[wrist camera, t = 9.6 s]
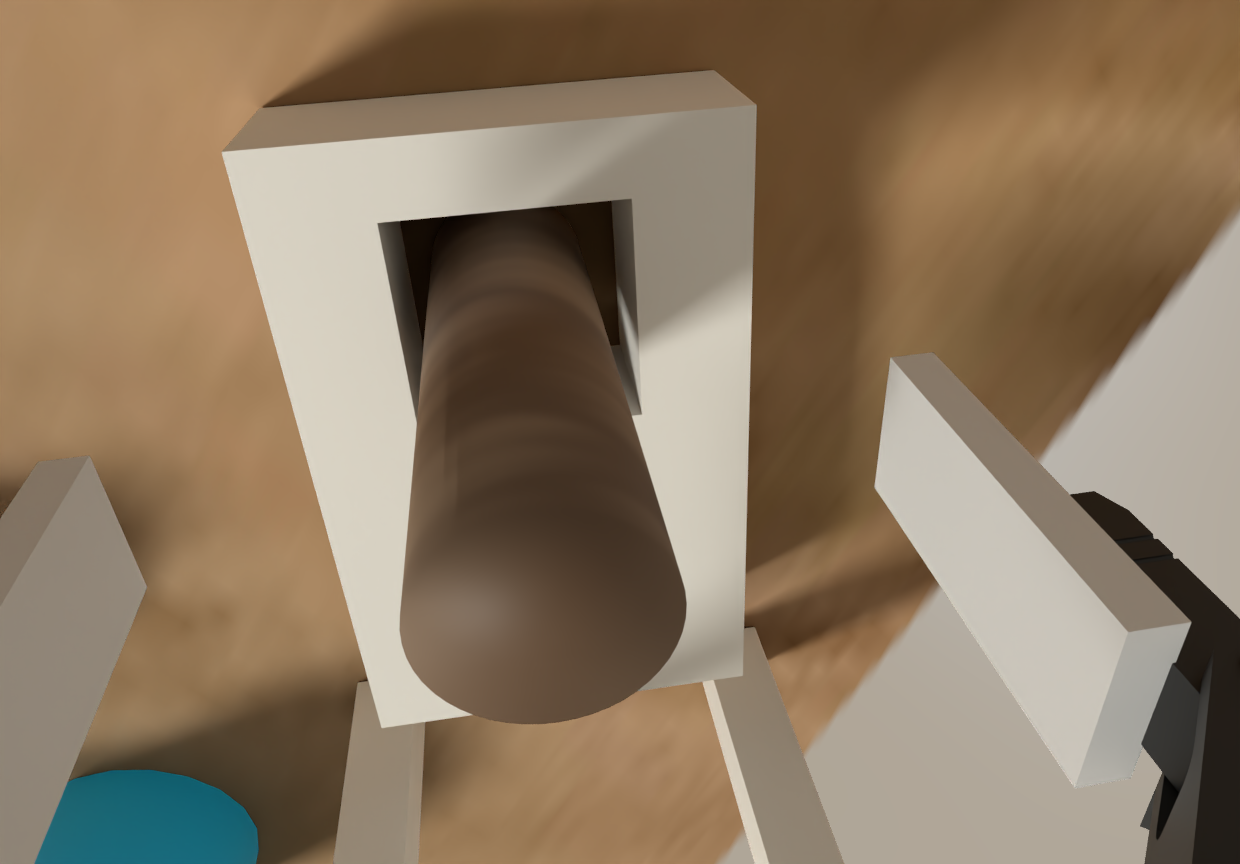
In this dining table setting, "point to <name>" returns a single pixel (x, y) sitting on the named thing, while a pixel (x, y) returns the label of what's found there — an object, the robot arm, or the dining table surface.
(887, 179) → the dining table surface
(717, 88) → the socket block
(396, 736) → the grey-topped arch
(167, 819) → the mug
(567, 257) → the peg
